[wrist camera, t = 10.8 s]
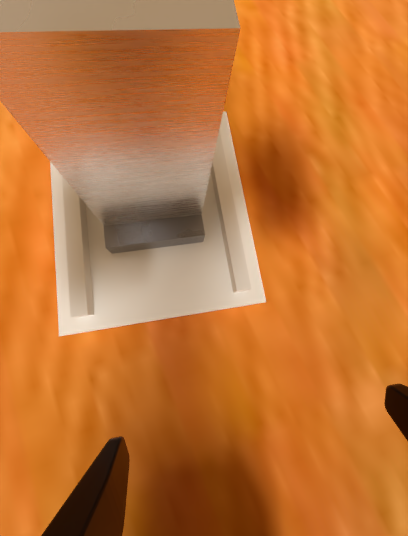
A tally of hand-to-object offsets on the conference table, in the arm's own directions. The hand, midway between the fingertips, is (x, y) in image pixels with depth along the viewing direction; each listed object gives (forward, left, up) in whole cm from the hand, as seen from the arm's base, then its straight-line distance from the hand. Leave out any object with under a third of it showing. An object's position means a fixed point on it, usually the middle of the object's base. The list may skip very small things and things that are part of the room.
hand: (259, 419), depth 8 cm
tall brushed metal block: (+8, +9, -8) cm, 15 cm away
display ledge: (+8, +9, -10) cm, 16 cm away
